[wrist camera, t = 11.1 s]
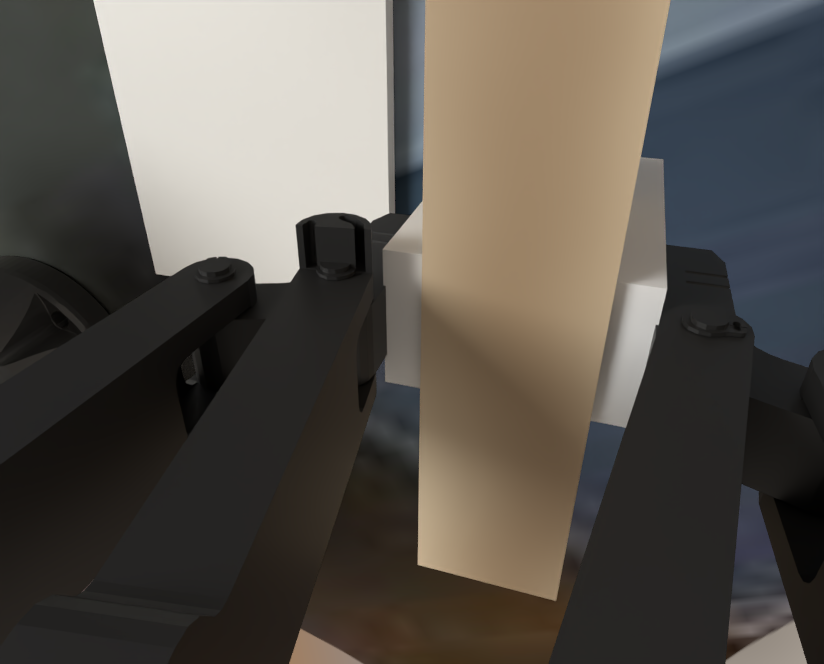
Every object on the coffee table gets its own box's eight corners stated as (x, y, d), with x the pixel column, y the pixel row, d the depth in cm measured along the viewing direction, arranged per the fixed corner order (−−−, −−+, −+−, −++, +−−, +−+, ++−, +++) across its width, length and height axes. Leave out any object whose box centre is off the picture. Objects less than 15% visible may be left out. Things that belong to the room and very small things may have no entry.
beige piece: (319, 352, 21) (198, 507, 16) (257, -375, 13) (-68, -619, 7) (790, 440, 18) (853, 678, 12) (1165, -485, 9) (2019, -1164, 3)
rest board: (165, 267, 43) (155, 273, 42) (80, -121, 32) (65, -122, 31) (396, 304, 39) (390, 312, 38) (391, -126, 28) (383, -127, 27)
